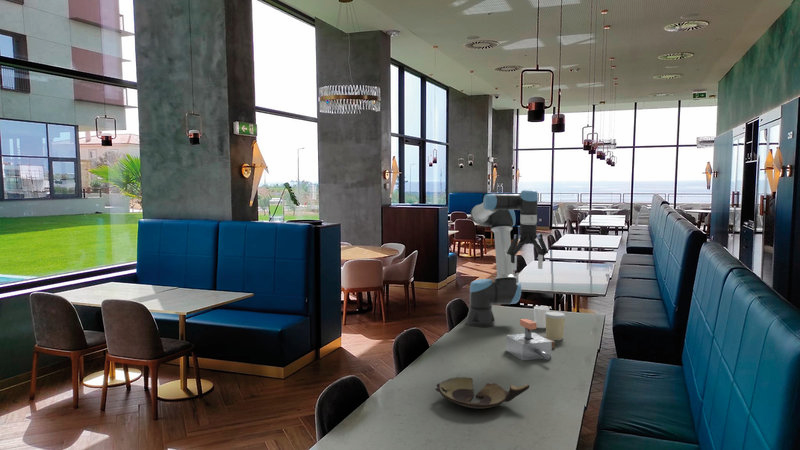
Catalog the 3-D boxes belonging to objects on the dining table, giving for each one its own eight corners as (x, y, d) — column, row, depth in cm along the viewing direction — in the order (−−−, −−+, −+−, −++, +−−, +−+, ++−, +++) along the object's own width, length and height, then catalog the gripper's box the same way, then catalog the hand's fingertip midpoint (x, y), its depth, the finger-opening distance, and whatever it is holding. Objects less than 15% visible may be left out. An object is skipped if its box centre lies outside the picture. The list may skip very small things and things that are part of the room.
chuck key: (529, 350, 231) (529, 323, 230) (519, 345, 238) (519, 319, 237) (536, 349, 232) (536, 322, 231) (526, 344, 239) (526, 318, 238)
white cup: (532, 327, 278) (533, 308, 277) (533, 324, 285) (534, 305, 284) (548, 329, 275) (549, 310, 274) (549, 325, 283) (549, 306, 282)
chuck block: (506, 350, 240) (506, 335, 239) (533, 347, 244) (534, 332, 243) (533, 367, 218) (534, 350, 217) (563, 364, 222) (564, 347, 221)
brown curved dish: (452, 385, 198) (452, 365, 198) (533, 402, 183) (533, 380, 183) (424, 407, 179) (425, 385, 178) (512, 428, 164) (512, 403, 163)
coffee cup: (562, 335, 264) (563, 311, 263) (566, 341, 254) (567, 316, 254) (543, 334, 265) (543, 311, 264) (546, 340, 255) (547, 315, 254)
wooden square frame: (530, 344, 249) (530, 338, 249) (545, 343, 251) (545, 336, 251) (539, 349, 241) (539, 343, 241) (554, 348, 244) (555, 341, 243)
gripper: (508, 225, 241) (507, 271, 243) (556, 223, 248) (555, 269, 250) (500, 223, 248) (499, 269, 250) (547, 222, 255) (546, 266, 257)
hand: (527, 269), depth 250 cm, fingers open, 13 cm apart
